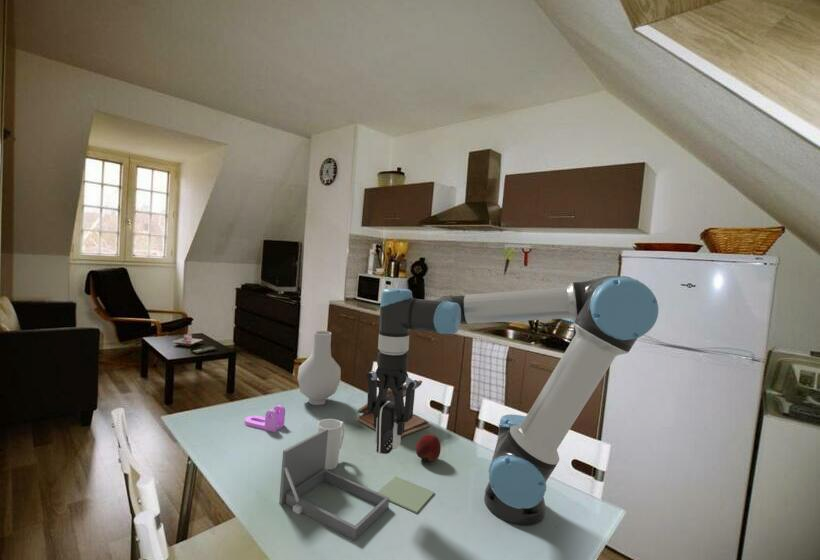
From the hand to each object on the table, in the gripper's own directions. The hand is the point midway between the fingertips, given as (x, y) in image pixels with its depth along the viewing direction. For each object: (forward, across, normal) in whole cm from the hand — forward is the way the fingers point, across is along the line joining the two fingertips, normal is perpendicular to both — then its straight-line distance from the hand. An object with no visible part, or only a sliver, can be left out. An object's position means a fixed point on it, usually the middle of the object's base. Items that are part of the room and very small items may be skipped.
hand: (387, 443), depth 99 cm
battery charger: (+2, 0, 0) cm, 2 cm away
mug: (+14, +22, -6) cm, 27 cm away
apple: (+15, -1, -25) cm, 29 cm away
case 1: (+14, +8, +8) cm, 19 cm away
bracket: (+13, +55, -12) cm, 57 cm away
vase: (+13, +54, -38) cm, 67 cm away
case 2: (+15, +21, -41) cm, 48 cm away
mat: (+15, -3, -6) cm, 16 cm away
